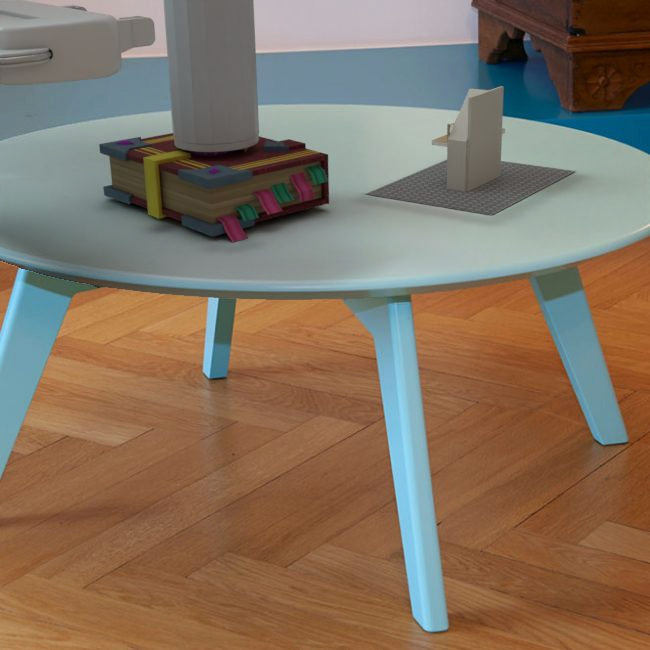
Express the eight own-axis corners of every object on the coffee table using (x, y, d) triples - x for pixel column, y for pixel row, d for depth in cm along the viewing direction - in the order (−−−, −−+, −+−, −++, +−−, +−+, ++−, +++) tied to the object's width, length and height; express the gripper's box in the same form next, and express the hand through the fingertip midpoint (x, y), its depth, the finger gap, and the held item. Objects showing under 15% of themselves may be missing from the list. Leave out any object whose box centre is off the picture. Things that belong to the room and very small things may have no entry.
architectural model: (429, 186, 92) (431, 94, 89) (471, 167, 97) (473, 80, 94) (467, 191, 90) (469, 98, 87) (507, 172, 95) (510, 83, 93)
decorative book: (219, 174, 97) (216, 116, 95) (343, 212, 86) (342, 147, 84) (103, 199, 90) (97, 137, 89) (220, 245, 79) (216, 175, 77)
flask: (178, 154, 83) (162, -78, 77) (170, 136, 88) (154, -82, 82) (265, 148, 84) (255, -81, 78) (251, 130, 90) (241, -84, 84)
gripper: (-25, 5, 62) (191, -15, 70) (-143, -18, 77) (46, -32, 85) (-10, 120, 64) (198, 89, 72) (-127, 76, 79) (55, 54, 87)
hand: (115, 23), depth 78 cm, fingers open, 8 cm apart
